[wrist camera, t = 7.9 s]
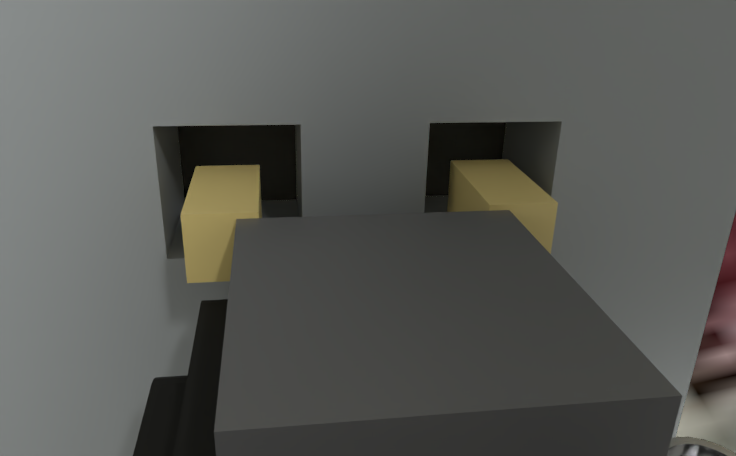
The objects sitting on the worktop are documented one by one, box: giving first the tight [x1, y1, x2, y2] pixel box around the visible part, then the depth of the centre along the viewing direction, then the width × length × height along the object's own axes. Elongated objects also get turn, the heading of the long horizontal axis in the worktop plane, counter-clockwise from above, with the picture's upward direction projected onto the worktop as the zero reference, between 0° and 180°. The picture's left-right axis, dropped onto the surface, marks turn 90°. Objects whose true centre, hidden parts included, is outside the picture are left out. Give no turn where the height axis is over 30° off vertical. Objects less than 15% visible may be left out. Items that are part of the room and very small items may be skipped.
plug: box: [181, 159, 682, 456], centre depth 11 cm, size 6×6×8 cm
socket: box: [0, 0, 736, 456], centre depth 15 cm, size 20×16×4 cm
